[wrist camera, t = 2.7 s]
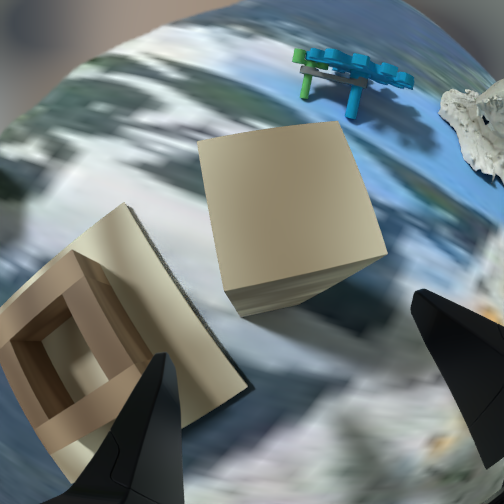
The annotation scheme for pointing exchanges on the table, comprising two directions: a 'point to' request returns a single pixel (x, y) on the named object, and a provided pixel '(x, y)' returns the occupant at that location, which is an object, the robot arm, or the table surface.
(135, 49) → the table surface
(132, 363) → the socket
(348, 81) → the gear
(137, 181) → the table surface
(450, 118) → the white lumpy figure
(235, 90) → the table surface
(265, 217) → the peg
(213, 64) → the table surface
